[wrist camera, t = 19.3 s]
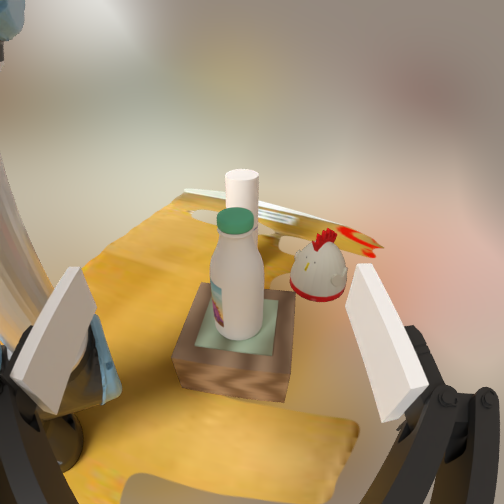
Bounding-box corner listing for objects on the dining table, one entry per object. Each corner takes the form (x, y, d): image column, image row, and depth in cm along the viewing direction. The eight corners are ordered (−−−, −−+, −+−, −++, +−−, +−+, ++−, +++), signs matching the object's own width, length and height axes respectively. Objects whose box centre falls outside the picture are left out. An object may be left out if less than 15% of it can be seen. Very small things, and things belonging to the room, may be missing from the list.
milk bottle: (266, 311, 50) (272, 204, 39) (256, 346, 44) (258, 234, 33) (223, 303, 52) (216, 198, 40) (208, 336, 46) (193, 225, 34)
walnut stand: (182, 387, 48) (170, 356, 42) (206, 316, 62) (201, 281, 57) (284, 402, 46) (290, 373, 40) (290, 326, 60) (295, 290, 55)
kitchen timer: (278, 279, 73) (282, 226, 64) (314, 258, 80) (322, 209, 71) (320, 311, 64) (332, 255, 55) (355, 284, 71) (369, 233, 62)
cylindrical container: (227, 275, 74) (222, 180, 59) (230, 258, 80) (227, 168, 65) (256, 277, 73) (257, 180, 59) (257, 260, 79) (259, 169, 65)
